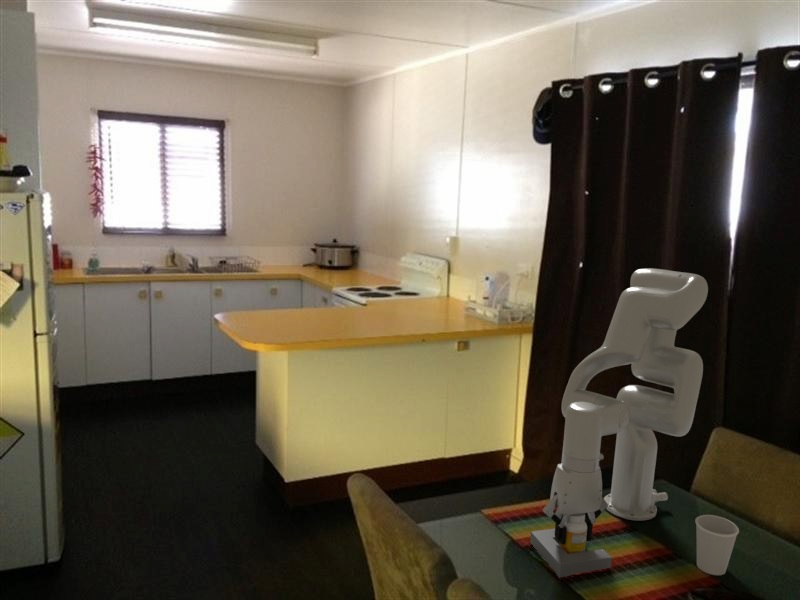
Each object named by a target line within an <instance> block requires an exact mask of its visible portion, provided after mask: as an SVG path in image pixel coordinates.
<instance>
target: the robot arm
mask: <svg viewBox="0 0 800 600" xmlns="http://www.w3.org/2000/svg"><path fill="white" fill-rule="evenodd" d="M629 283H630V284H629V285H630V287H628V288H626V289H625V290H623V291H622V292H621V294H620V296H619V298H618V301H617V304H616V307H615V310H614V311H613V316H612V318H611V321H610V324H609V327H608V330H607V332H606V336H605V338H604V341H603V343H602V345H601V346H600V347H599V348H598V349H596V350H595V351H593V352H592V353H590V354H588V355H587V356H586V357H585V358H584V359H583V360H582V361H581V362H579V364H578V365H577V366H576V367H575V368H574V369H573V370H572V373H570V374H571V375H570V377H569V379H568V383H567V385H566V387H565V390H564V393H563V397H562V400H561V413H562V416H563V417H564V420H565V422H564V431H563V433H564V434H563V441H562V443H563V445H562V453H561V463H558V464H557V466H556V468H555V472H554V475H553V479H552V484H551V488H550V489H551V490H550V496H549V497H550V499H549V502H548V503H547V504H546V505H545V506H544V507H543V509H542V512H543V513H544V514H545V515H546V516H547V517H548V518H550V519H551V520H552V521H553V522H554V523H555V525H554V526H555V527H554V529H555V538H556V539H557V540H558V541H559V542H560V543H561V544H562V545H564V544H565V543H566V532H567V528H566V527H565V523H566V521H567V518H568V516H569V515H573V514H581V513H585V520H584V521H585V522H586V524H587V536H586V542H590V541H592V535H593V528H594V527H593V526H594V524H596V522H597V519H598V517H599V516H600V515H601V514H602V512H604V511H605V510H606V511H608V512H609V513H611V514H612V515H614V516H616V517H619V518H621V519H625V520H630V521H635V522H637V521H638V522H639V521H640V522H641V521H649V520H652V519H653V518H655V517H656V515H657V511H658V508H657V506H656V505H655V504H656V503H657V502H662V501H668V499H669V495H668V493H667V492H664V491H663V492H657V490H656V489H655V488H653V487H654V480H655V470H656V463H657V454H658V441H657V438H656V435H655V433H654V431H655V432H659V433H662V434H665V435H668V436H674V437H683V436H686V435H687V434H688V433H689V431H690V430H691V428H692V426H693V425H692V424H693V422H694V418H695V413H696V409H697V408H696V407H697V404H698V399H699V395H700V390H701V384H702V379H703V375H704V374H703V372H704V363H703V359H702V357H701V355H700V354H699V353H698V352H696V351H694V350H691V349H687V348H682V347H677V346H675V340H676V336H677V331H678V330H679V329H681V328H683V327H684V326H685V325H686V324H687V323H688V322H690V320H691V319H692V318H693V317H694V316H695V315H696V314H697V313H698V312H699V311H700V310H701V308H702V307H703V305H705V302H706V300H707V297H708V292H709V286H708V282H707V280H706V279H705V278H704V276H701V275H699V274H697V273H691V272H685V271H684V272H681V271H674V270H669V269H662V268H653V267H652V268H651V267H649V268H647V267H645V268H639V269H638V268H637V269H636V270H635V271H633V273H632V274H631V277H630V282H629ZM630 364H631V373H632V375H633V376H635V378H638V379H640V380H642V381H645V382H649V383H653V384H657V385H660V386H665V387H668V388H672V389H673V393H671V392H668V391H663V390H661V389H656V388H653V387H649V386H643V385H639V384H628V385H626V386H624V387H622V388H620V390H619V391H618V393H617V396H616V398H614V397H612V396H607V395H604V394H600V393H597V392H594V391H589V390H586V389H587V387H588V384H589V383H590V381H591V380H592V379H593V378H594V377H595V376H596V375H597V374H599V373H601V372H604V371H606V370H608V369H611V368H615V367H621V366H626V365H630ZM615 434H616V440H615V450H614V459H613V468H612V478H611V487H610V488H611V489H610V493H608V494H607V495H605V496H604V497H603V479H602V471H601V467H600V461H603V460H604V454H603V453H601V445H602V444H601V443H602V437H603V436H609V435H615ZM555 509H556V511H555V512H554V510H555Z"/></svg>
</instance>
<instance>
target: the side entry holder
mask: <svg viewBox="0 0 800 600" xmlns="http://www.w3.org/2000/svg"><path fill="white" fill-rule="evenodd" d="M529 541H530V542H529V544H530V543H531V544H532V545H533V547H534V548H535V549H536V550H537V551H538V553H539V554H540V555H541V556H542V557H543V558H544V559H545V561H546V562H547V563H548V564H549V565H550V566H551V568H552V569H553V570H554V571H555V573H556V574H557V575H556V574H555V575H556V576H557V577H558V579H561V578H560V577H564V576H569V575H573V574H576V573H582V572H587V571H593V570H599V569H606V568H610V567H611V568H612V559H613V558H612V556H611V555H610V554H609V553H608V552H607V551H606V550H605V549H604V548H599V549H592V550H587V551H586V550H585V552H578V553H571V554H567V553H566V552H565V551H564V550H563V548H562V547H561V546H560V542H559V541H558V540H557V539H556V538H555V528H550V529H542V530H540V529H539V530H533V531H530V540H529ZM531 544H530V545H531ZM533 547H532V548H533ZM534 548H533V549H534ZM535 549H534V550H535ZM536 550H535V551H536ZM537 551H536V552H537ZM538 553H537V554H538ZM539 554H538V555H539ZM540 555H539V556H540ZM541 556H540V557H541ZM542 557H541V558H542ZM545 561H544V562H545ZM546 562H545V563H546ZM547 563H546V564H547ZM548 564H547V565H548ZM551 568H550V569H551ZM552 569H551V570H552ZM553 570H552V571H553ZM554 571H553V572H554Z"/></svg>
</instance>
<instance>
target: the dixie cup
mask: <svg viewBox="0 0 800 600" xmlns="http://www.w3.org/2000/svg"><path fill="white" fill-rule="evenodd" d="M694 522H695V524H696V527H695V528H696V532H695V533H696V536H695V537H696V566H697V567H698V569H699V570H701V571H702V572H704V573H706V574H709V575H711V576H722V575H725V574H726V572H727V568H728V567H729V561H730V559H731V555H732V552H733V549H734V545H735V543H736V539H737V536H738V534H739V533H740V530H739V527H738V526H737V524H736V523H734V522H733V521H731V520H729V519H727V518H725V517H722V516H719V515H713V514H703V515H699V516H696V518H695V521H694Z"/></svg>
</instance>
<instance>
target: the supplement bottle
mask: <svg viewBox="0 0 800 600" xmlns="http://www.w3.org/2000/svg"><path fill="white" fill-rule="evenodd" d="M584 520H585V513H581V514H573V515H569V516H568V518H567V521H566V523H565V527H566V528H567V532H566V543H565V544H564V545H562V544H561V543H560V546H561V547H562V548H563V550H564V551H565V552H566V553H567V554H571V553H578V552H585V551H586V545H587V540H586V536H587V524H586V522H585V521H584Z"/></svg>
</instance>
